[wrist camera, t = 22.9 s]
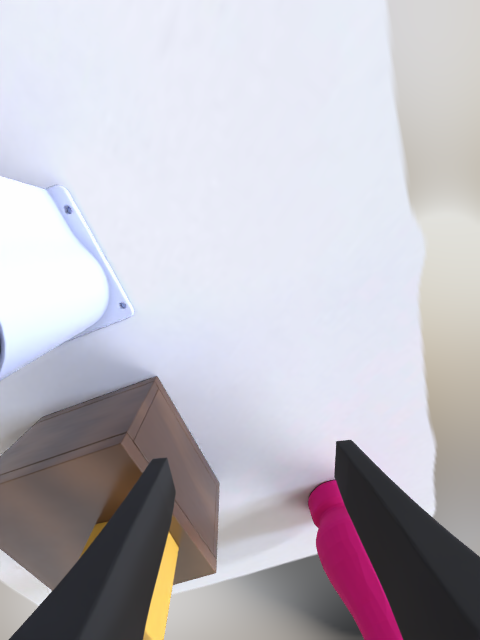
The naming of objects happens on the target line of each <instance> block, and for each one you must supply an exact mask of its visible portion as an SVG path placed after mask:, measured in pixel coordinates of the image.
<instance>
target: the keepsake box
mask: <svg viewBox="0 0 480 640" xmlns="http://www.w3.org/2000/svg"><path fill="white" fill-rule="evenodd" d="M125 433H127V434H128V435H129V437H130V438H131V440H132V441H133V443H134V444H135V445H136V447H137V448H138V450H139V451H140V452H141V454H142V455H143V457H144V458H145V459H146V461H147V462H148V464H149V463H150V462H151V460H152V459H156V458H166V457H167V459H168V463H169V467H170V470H171V474H172V478H173V482H174V486H175V490H176V495H175V502H176V503H177V505H178V506H179V508H180V509H181V510H182V512H183V513H184V515H185V516H186V517H187V519H188V520H189V522H190V523H191V525H192V526H193V527H194V529H195V530H196V532H197V533H198V534H199V536H200V537H201V539H202V540H203V541H204V543H205V544H206V546H207V547H208V549H209V550H210V551H211V553H212V554H213V556H214V557H215V558H216V559H217V539H218V512H219V482H218V480H217V478H216V476H215V475H214V473H213V471H212V470H211V468H210V466H209V464H208V463H207V461H206V459H205V458H204V456H203V454H202V452H201V451H200V449H199V447H198V446H197V444H196V442H195V440H194V439H193V437H192V435H191V433H190V432H189V430H188V428H187V427H186V425H185V423H184V421H183V420H182V418H181V416H180V415H179V413H178V411H177V409H176V408H175V406H174V404H173V402H172V401H171V399H170V397H169V396H168V394H167V392H166V390H165V389H164V387H163V385H162V384H161V382H160V380H159V378H158V377H157V376H156V377H153V378H150V379H148V380H145V381H142V382H139V383H136V384H134V385H131V386H128V387H125V388H123V389H120V390H117V391H114V392H111V393H109V394H106V395H103V396H100V397H97V398H95V399H92V400H89V401H86V402H83V403H81V404H78V405H75V406H72V407H69V408H67V409H64V410H61V411H58V412H55V413H53V414H50V415H47V416H44V417H42V418H41V419H40V420H39V421H38V422H37V423H36V424H34V425H33V426H32V427H31V428H30V429H29V430H28V431H27V432H26V433H25V434H24V435H23V436H22V437H20V438H19V439H18V440H17V441H16V442H15V443H14V444H13V445H12V446H11V447H10V448H9V449H8V450H7V451H5V452H4V453H3V454H2V455H1V456H0V476H1V475H4V474H7V473H10V472H13V471H16V470H19V469H22V468H24V467H27V466H30V465H33V464H36V463H39V462H42V461H45V460H48V459H51V458H54V457H57V456H60V455H63V454H66V453H69V452H72V451H75V450H78V449H81V448H84V447H86V446H89V445H92V444H95V443H98V442H101V441H104V440H107V439H110V438H113V437H116V436H119V435H122V434H125Z"/></svg>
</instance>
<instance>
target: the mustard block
mask: <svg viewBox="0 0 480 640" xmlns="http://www.w3.org/2000/svg"><path fill="white" fill-rule="evenodd" d="M107 523H108V522H103V523H99V524H96V525H95V526H94V528H93V530H92V533H91V535H90V537H89V539H88V541H87V543H86V545H85V547H84V549H83V551H82V553H81V556H82V555H83V554H84V552H85V551H86V550H87V549H88V547H89V546H90V545H91V543H92V542H93V541H94V540H95V538H96V537H97V536H98V534H99V533H100V532H101V530H102V529H103V528H104V527H105V525H106V524H107ZM178 550H179V547H178V546H177V544H176V542H175V541H174V539H173V537H172V536H171V534H170V532H169V533H168V537H167V541H166V545H165V549H164V553H163V557H162V561H161V565H160V569H159V573H158V576H157V580H156V584H155V588H154V592H153V596H152V600H151V604H150V608H149V613H148V617H147V622H146V626H145V632H144V637H143V640H163V639H164V634H165V628H166V622H167V616H168V610H169V604H170V598H171V592H172V586H173V580H174V574H175V568H176V562H177V556H178ZM81 556H80V557H81ZM79 559H80V558H79Z"/></svg>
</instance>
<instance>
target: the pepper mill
mask: <svg viewBox="0 0 480 640" xmlns="http://www.w3.org/2000/svg"><path fill="white" fill-rule="evenodd" d="M308 506H309V509H310V512H311V516H312V519H313V522H314V524H315V525H316V526H317V527H318V528H319V529H318V532H317V537H316V547H317V552H318V555H319V558H320V561H321V563H322V566H323V568H324V571H325V572H326V574H327V576H328V578H329V580H330V582H331V583H332V585H333V587H334V588H335V590H336V591H337V592H338V594H339V596H340V597H341V599H342V600H343V602H344V603H345V605H346V606H347V608H348V610H349V611H350V613H351V614H352V616H353V618H354V619H355V621H356V623H357V625H358V627H359V629H360V631H361V633H362V636H363V638H364V640H403V638H402V635H401V633H400V630H399V627H398V625H397V622H396V620H395V617H394V615H393V612H392V609H391V607H390V604H389V602H388V600H387V597H386V595H385V593H384V590H383V588H382V586H381V583H380V581H379V579H378V577H377V575H376V572H375V570H374V568H373V566H372V564H371V562H370V559H369V557H368V555H367V553H366V551H365V549H364V546H363V544H362V542H361V540H360V538H359V536H358V534H357V531H356V529H355V527H354V525H353V523H352V520H351V518H350V516H349V514H348V512H347V509H346V507H345V505H344V502H343V499H342V497H341V494H340V491H339V488H338V485H337V482H336V480H332V481H328V482H325V483H323V484H321V485H319V486H318V487H316V489H315V490H314V491H313V492H312V493H311V495H310V497H309V500H308Z"/></svg>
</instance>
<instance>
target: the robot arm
mask: <svg viewBox="0 0 480 640" xmlns="http://www.w3.org/2000/svg"><path fill="white" fill-rule="evenodd" d="M68 207H70V208H71V210H72V211H71V213H70V214H69V213H68V211H67V208H68ZM121 303H124V304H125V305H126V308H123V307H122V306H121ZM133 314H134V309H133V307H132V305H131V303H130V301H129V300H128V298H127V296H126V294H125V292H124V291H123V289H122V287H121V285H120V283H119V282H118V280H117V278H116V276H115V274H114V273H113V271H112V269H111V267H110V265H109V264H108V262H107V260H106V258H105V256H104V255H103V253H102V251H101V249H100V247H99V246H98V244H97V242H96V240H95V238H94V237H93V235H92V233H91V231H90V229H89V228H88V226H87V224H86V222H85V220H84V219H83V217H82V215H81V213H80V211H79V210H78V208H77V206H76V204H75V202H74V201H73V199H72V197H71V195H70V193H69V192H68V190H67V189H66V188H64V187H62V186H59V185H54V186H51V187H49V188H47V189H43V188H40V187H36V186H33V185H29V184H26V183H23V182H19V181H16V180H12V179H9V178H6V177H2V176H0V381H1V380H2V379H4V378H6V377H7V376H9V375H11V374H12V373H14V372H16V371H17V370H19V369H21V368H22V367H24V366H26V365H27V364H29V363H31V362H32V361H34V360H36V359H37V358H39V357H41V356H42V355H44V354H45V353H47V352H49V351H50V350H52V349H54V348H55V347H57V346H59V345H60V344H62V343H64V342H66V341H69V340H71V339H74V338H77V337H79V336H82V335H85V334H87V333H90V332H92V331H95V330H98V329H100V328H103V327H106V326H108V325H111V324H113V323H116V322H119V321H121V320H124V319H127V318H129V317H131V316H132V315H133ZM334 477H335V479H336V482H337V485H338V488H339V491H340V494H341V497H342V499H343V502H344V505H345V507H346V509H347V512H348V514H349V516H350V518H351V520H352V523H353V525H354V527H355V529H356V531H357V534H358V536H359V538H360V540H361V542H362V544H363V546H364V549H365V551H366V553H367V555H368V557H369V559H370V562H371V564H372V566H373V568H374V570H375V572H376V575H377V577H378V579H379V581H380V583H381V586H382V588H383V590H384V593H385V595H386V597H387V600H388V602H389V604H390V607H391V609H392V612H393V615H394V617H395V620H396V622H397V625H398V627H399V630H400V633H401V635H402V638H403V640H480V557H479V556H478V555H477V554H475V553H474V552H473V551H472V550H471V549H469V548H468V547H467V546H466V545H464V544H463V543H462V542H461V541H459V540H458V539H457V538H456V537H454V536H453V535H452V534H451V533H450V532H448V531H447V530H446V529H445V528H444V527H443V526H442V525H440V524H439V523H438V522H437V521H436V520H435V519H433V518H432V517H431V516H430V515H429V514H428V513H427V512H426V511H424V510H423V509H422V508H421V507H420V506H419V505H418V504H417V503H415V502H414V501H413V500H412V499H411V498H410V497H409V496H408V495H407V494H406V493H405V492H404V491H403V490H401V489H400V488H399V487H398V486H397V485H396V484H395V483H394V482H393V481H392V480H391V479H390V478H389V477H388V476H387V475H386V474H385V473H384V472H383V471H382V470H381V469H380V468H379V467H378V466H377V465H376V464H375V463H374V462H373V461H372V460H371V459H370V458H369V457H368V456H367V455H366V454H365V453H364V452H363V451H362V450H361V449H360V448H359V447H358V446H357V445H356V444H355V443H354V442H353V441H352V440H345V441H336V458H335V476H334ZM175 495H176V490H175V486H174V482H173V478H172V474H171V470H170V467H169V463H168V459H167V457H166V458H156V459H152V460H151V462H150V463H149V464H148V466H147V467H146V469H145V470H144V472H143V473H142V475H141V476H140V478H139V479H138V481H137V482H136V484H135V485H134V486H133V488H132V489H131V491H130V492H129V494H128V495H127V496H126V498H125V499H124V501H123V502H122V503H121V505H120V506H119V508H118V509H117V510H116V512H115V513H114V514H113V516H112V517H111V519H110V520H109V521H108V523H107V524H106V525H105V527H104V528H103V529H102V530H101V532H100V533H99V534H98V536H97V537H96V538H95V540H94V541H93V542H92V543H91V545H90V546H89V547H88V549H87V550H86V551H85V552H84V554H83V555H82V556H81V557H80V559H79V560H78V561H77V562H76V564H75V565H74V566H73V567H72V568H71V570H70V571H69V572H68V573H67V574H66V576H65V577H64V578H63V579H62V580H61V581H60V583H59V584H58V585H57V586H56V587H55V589H54V590H53V591H52V592H51V593H50V594H49V595H48V597H47V598H46V599H45V600H44V601H43V602H42V603H41V604H40V606H39V607H38V608H37V609H36V610H35V611H34V612H33V613H32V615H31V616H30V617H29V618H28V619H27V620H26V621H25V622H24V623H23V625H22V626H21V627H20V628H19V629H18V630H17V631H16V632H15V633H14V634H13V636H12V637H11V638H10V639H9V640H143V637H144V632H145V626H146V622H147V617H148V613H149V608H150V604H151V600H152V596H153V592H154V588H155V584H156V580H157V576H158V573H159V569H160V565H161V561H162V557H163V553H164V549H165V545H166V541H167V537H168V533H169V529H170V525H171V520H172V514H173V508H174V502H175Z"/></svg>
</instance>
